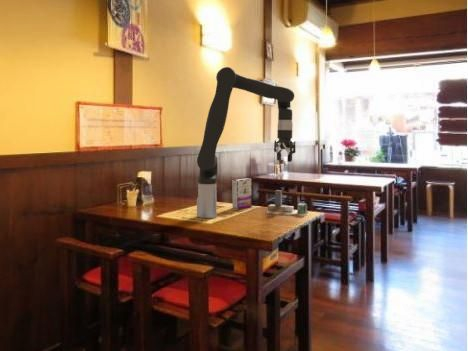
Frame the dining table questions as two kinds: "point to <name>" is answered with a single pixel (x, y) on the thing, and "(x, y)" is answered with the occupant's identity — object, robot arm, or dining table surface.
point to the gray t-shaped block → (279, 201)
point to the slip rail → (281, 211)
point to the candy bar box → (242, 193)
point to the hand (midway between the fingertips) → (284, 161)
